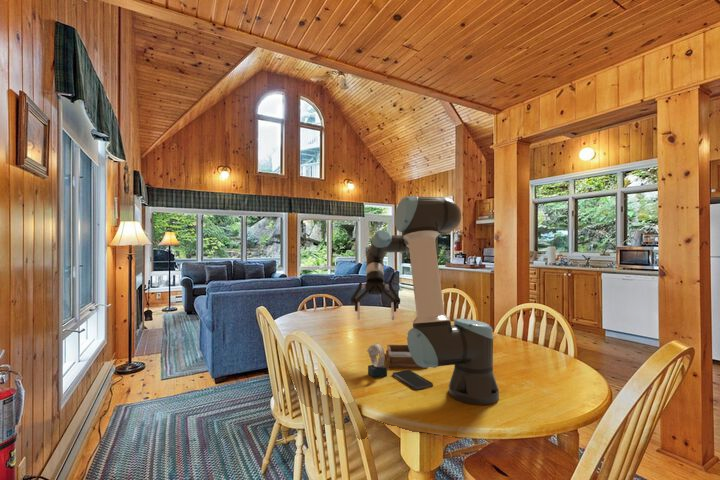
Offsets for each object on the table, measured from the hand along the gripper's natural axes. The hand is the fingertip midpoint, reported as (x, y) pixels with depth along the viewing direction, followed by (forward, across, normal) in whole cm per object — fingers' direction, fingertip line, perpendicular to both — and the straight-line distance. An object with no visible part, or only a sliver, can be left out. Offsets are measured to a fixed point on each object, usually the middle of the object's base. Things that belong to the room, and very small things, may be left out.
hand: (375, 318), depth 141 cm
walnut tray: (+10, -12, -16) cm, 22 cm away
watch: (+21, 0, -5) cm, 22 cm away
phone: (+25, -12, -1) cm, 28 cm away
